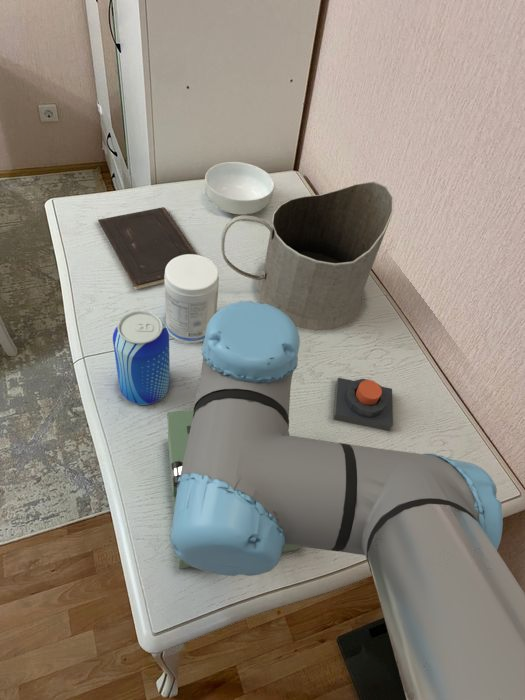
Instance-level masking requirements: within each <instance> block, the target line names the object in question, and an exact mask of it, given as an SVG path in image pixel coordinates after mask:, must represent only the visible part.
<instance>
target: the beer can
mask: <svg viewBox="0 0 525 700" xmlns="http://www.w3.org/2000/svg"><path fill="white" fill-rule="evenodd" d="M112 344H113V353H114V356H115V364H116V372H117V379H118V385H119V391H120V393H121V395H122V397H124V399H125V400H127V401H128V402H130V403H133V404H135V405H140V406H146V405H152V404H155V403H158V402H159V401H161V400H162V399H164V397H165V396H167V394H168V392H169V389H170V386H171V377H170V376H171V375H170V374H171V369H170V362H171V361H170V334H169V333H168V330H167V328H166V324H164V323H163V322H162V319H161V318H160V317H159V316H158V315H157V314H155V313H153V312H151V311H147V310H134V311H131V312H129V313H127V314H125V315H123V316H122V317H121V319H119V321H118V323H117V326H116V327H115V329H114V331H113V333H112Z"/></svg>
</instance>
